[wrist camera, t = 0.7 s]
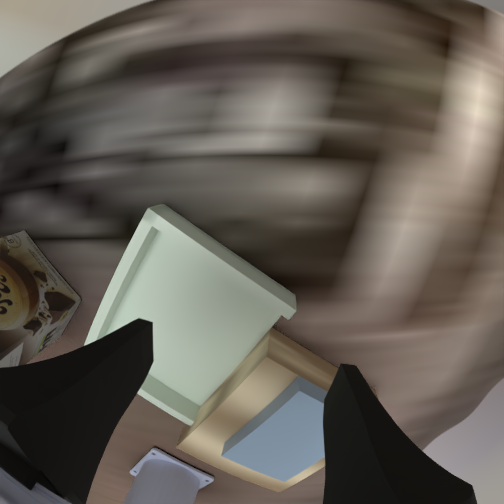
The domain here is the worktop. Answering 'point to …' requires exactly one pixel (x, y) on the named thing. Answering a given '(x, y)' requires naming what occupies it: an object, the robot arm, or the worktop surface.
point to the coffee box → (30, 301)
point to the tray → (189, 308)
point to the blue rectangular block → (282, 433)
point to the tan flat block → (253, 403)
